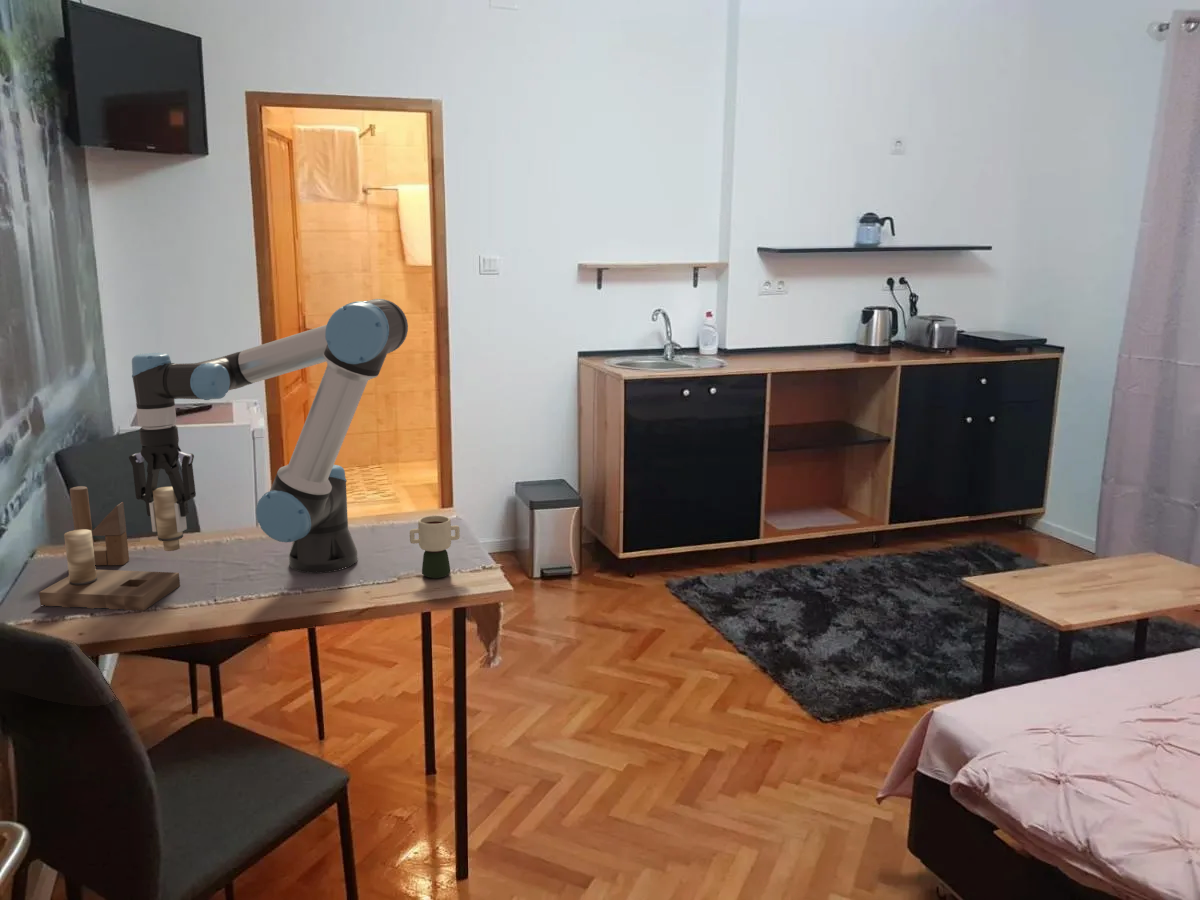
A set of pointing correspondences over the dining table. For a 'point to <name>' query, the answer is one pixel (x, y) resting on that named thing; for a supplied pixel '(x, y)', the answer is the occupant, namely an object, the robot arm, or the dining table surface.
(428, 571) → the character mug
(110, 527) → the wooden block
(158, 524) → the beech peg
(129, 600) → the walnut board
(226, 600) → the dining table surface
